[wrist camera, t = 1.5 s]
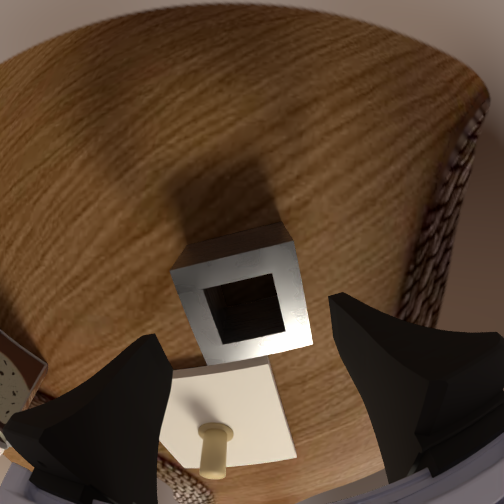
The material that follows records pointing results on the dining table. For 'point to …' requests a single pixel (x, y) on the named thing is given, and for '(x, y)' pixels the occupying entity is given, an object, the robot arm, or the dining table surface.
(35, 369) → the food container
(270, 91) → the dining table surface
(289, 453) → the shaft board
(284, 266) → the collar
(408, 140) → the dining table surface
